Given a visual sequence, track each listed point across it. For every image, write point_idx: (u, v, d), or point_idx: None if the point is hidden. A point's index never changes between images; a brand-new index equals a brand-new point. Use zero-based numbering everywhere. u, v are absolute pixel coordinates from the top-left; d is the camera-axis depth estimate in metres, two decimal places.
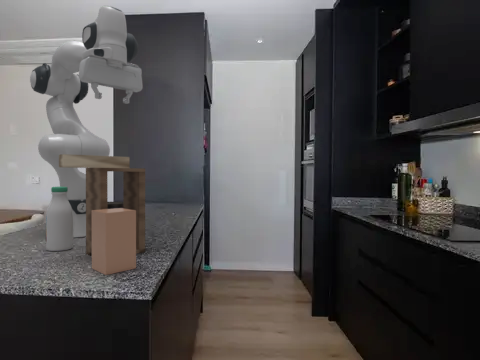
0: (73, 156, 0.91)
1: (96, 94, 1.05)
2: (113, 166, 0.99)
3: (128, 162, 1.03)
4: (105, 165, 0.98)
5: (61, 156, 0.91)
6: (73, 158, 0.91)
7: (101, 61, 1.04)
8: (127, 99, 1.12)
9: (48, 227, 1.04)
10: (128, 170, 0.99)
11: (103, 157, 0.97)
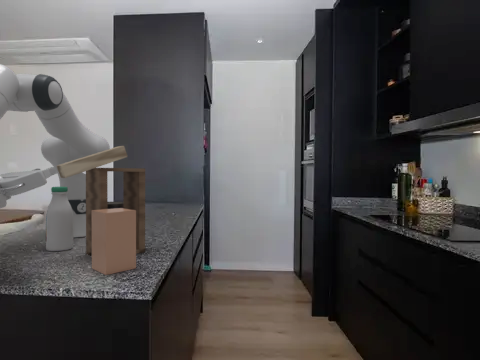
0: (70, 164, 0.91)
1: None
2: (111, 160, 0.99)
3: (124, 151, 1.02)
4: (104, 161, 0.97)
5: (58, 167, 0.90)
6: (71, 166, 0.91)
7: None
8: (52, 174, 0.83)
9: (48, 227, 1.04)
10: (128, 170, 0.99)
11: (99, 155, 0.96)
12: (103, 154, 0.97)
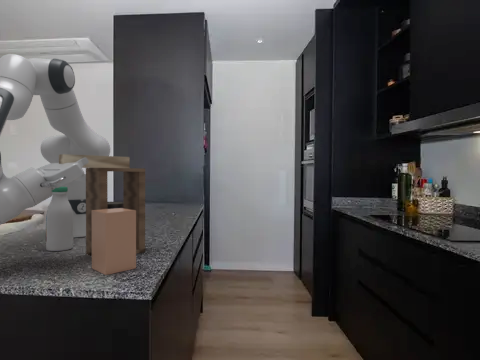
0: (73, 156, 0.91)
1: None
2: (113, 166, 0.99)
3: (128, 162, 1.03)
4: (105, 165, 0.98)
5: (61, 156, 0.91)
6: (73, 158, 0.91)
7: None
8: (84, 164, 0.93)
9: (48, 227, 1.04)
10: (128, 170, 0.99)
11: (103, 157, 0.97)
12: (107, 158, 0.98)
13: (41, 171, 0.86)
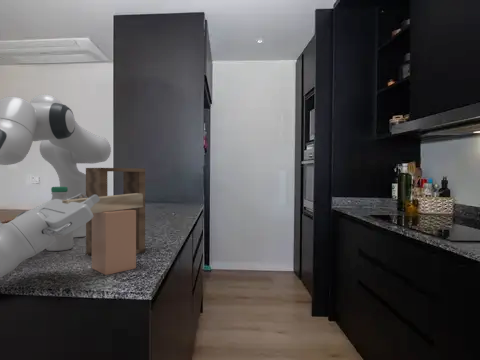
0: (79, 202, 0.78)
1: None
2: (125, 207, 0.86)
3: (141, 200, 0.90)
4: (116, 206, 0.85)
5: (64, 202, 0.77)
6: None
7: None
8: None
9: None
10: (128, 170, 0.99)
11: (113, 198, 0.84)
12: (118, 198, 0.85)
13: (43, 214, 0.73)
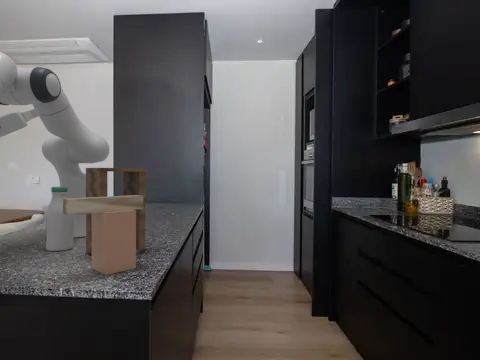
0: (80, 201, 0.78)
1: None
2: (125, 208, 0.86)
3: (142, 202, 0.90)
4: (116, 207, 0.85)
5: (65, 201, 0.78)
6: (80, 203, 0.78)
7: None
8: (35, 117, 0.76)
9: (48, 227, 1.04)
10: (128, 170, 0.99)
11: (114, 199, 0.84)
12: (118, 199, 0.85)
13: None
